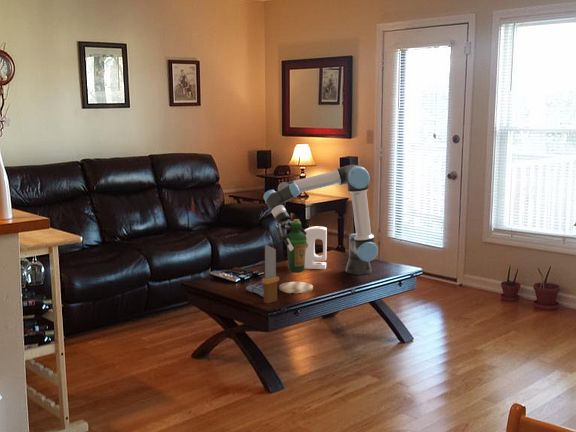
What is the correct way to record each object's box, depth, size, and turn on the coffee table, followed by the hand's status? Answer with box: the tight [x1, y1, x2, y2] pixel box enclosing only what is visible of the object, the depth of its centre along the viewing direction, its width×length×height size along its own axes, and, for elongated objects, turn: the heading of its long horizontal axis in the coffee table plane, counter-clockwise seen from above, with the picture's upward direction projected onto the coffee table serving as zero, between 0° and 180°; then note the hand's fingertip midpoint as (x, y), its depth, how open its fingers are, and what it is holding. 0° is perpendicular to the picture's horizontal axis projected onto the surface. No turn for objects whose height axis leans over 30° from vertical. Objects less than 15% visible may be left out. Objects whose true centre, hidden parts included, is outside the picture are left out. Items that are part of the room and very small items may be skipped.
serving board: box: [279, 281, 314, 295], centre depth 355 cm, size 18×18×2 cm
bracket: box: [304, 225, 328, 270], centre depth 400 cm, size 7×21×25 cm, turn 82°
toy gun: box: [245, 280, 264, 298], centre depth 349 cm, size 4×19×15 cm
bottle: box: [286, 218, 306, 274], centre depth 351 cm, size 11×11×28 cm
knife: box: [261, 244, 280, 304], centre depth 331 cm, size 8×4×30 cm, turn 136°
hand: (300, 248), depth 349 cm, fingers closed on bottle, 10 cm apart
